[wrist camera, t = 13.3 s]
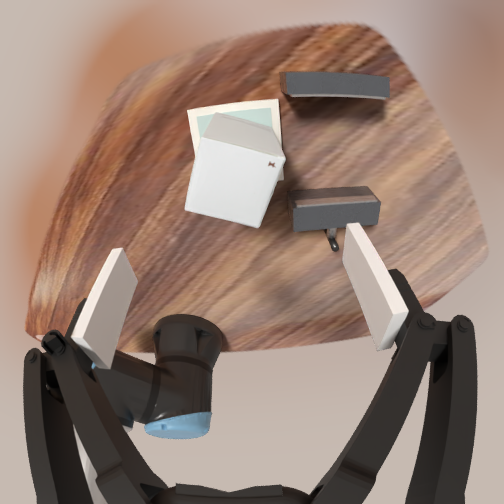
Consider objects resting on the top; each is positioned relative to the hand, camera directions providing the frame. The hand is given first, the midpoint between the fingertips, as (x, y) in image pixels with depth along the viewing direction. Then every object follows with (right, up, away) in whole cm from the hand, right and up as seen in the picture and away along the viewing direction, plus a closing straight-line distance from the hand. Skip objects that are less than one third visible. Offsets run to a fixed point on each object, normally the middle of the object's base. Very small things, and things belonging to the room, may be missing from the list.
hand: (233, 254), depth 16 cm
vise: (+11, +13, +19) cm, 26 cm away
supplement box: (-1, +14, +17) cm, 22 cm away
